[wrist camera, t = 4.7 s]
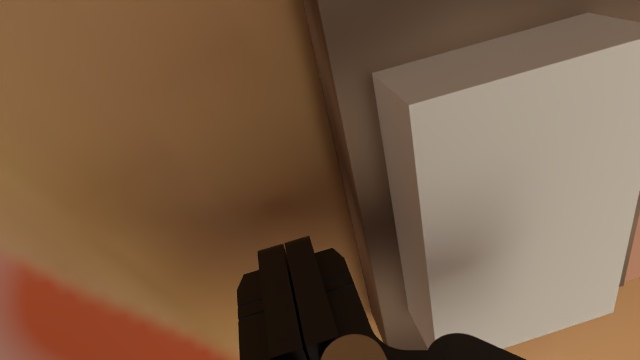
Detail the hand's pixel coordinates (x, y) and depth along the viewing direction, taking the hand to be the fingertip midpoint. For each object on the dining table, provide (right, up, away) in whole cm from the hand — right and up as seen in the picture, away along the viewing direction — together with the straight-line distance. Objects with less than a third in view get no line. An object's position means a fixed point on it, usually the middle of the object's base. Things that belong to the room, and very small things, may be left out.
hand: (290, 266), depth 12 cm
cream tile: (+6, +2, +1) cm, 7 cm away
